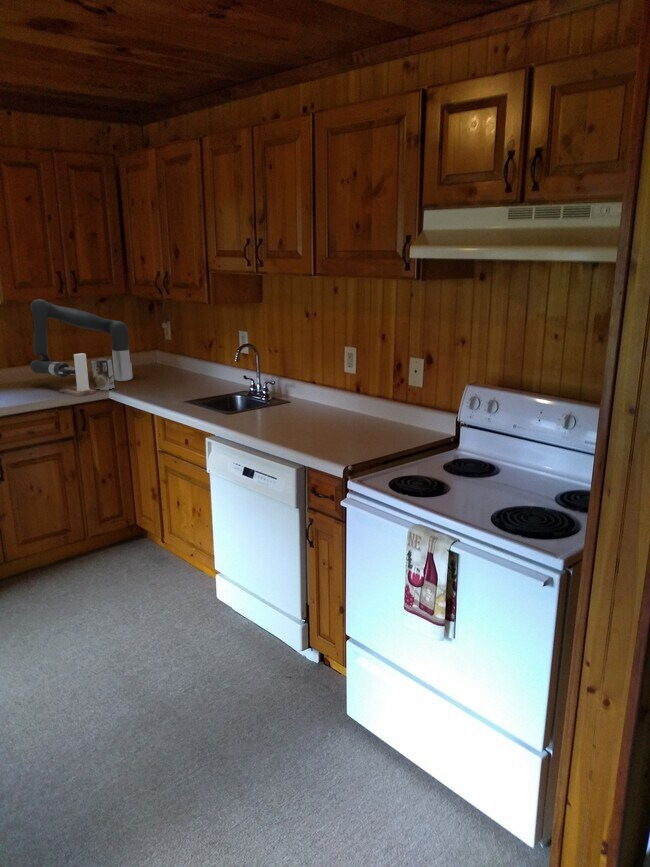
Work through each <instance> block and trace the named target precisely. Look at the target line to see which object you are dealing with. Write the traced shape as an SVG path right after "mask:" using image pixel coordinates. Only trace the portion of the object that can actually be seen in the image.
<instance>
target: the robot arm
mask: <svg viewBox="0 0 650 867" xmlns="http://www.w3.org/2000/svg"><path fill="white" fill-rule="evenodd" d="M30 310H31V314H32V317H33V318H32V319H33V326H34V328H33V353H34V355H35V356H40V358H41V359H35V360H32V361H31V363H30V366H29V367H30V369H31V371H32V372H33V373H35V374H46V375H53V376H55V377H61V378H67V377H68V376H71V375H76V372H75V367H72V366H70V365H69V364H68V363H66V362H61V361H53V360H51V359H50V354H49V349H48V348H49V345H48V343H49V342H48V341H49V340H48V330H47V327H48V326H47V325H48V318H49V319H50V318H51V319H54V320H55V319H56V320H58V321H60V322H62V323H65V324H68V325H71V326H74V327H76V328H81V329H86V330H93V331H99V332H103V333H106V334H108V335H111V351H112V352H111V353H112V364H113V375H114V381H117V382H125V381H130V380H133V378H134V376H133V366H132V362H131V358H130V339H129V337H130V336H129V328H128V326H127V325H126V323H124V322H123V321H122V320H121V321H120V320H115V319H109V318H108V319H107V318H103V317H101V316H98V315H96V314H93V313H90V312H88V311H84V310H80V309H78V308H77V309H76V308H72V307H66V306H61V305H58V304H57V305H56V304H54V303H52V302H48V301H46V300H45V299H41V298H37V299H34V300H32V302H31V303H30Z"/></svg>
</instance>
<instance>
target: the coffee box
mask: <svg viewBox="0 0 650 867" xmlns="http://www.w3.org/2000/svg"><path fill="white" fill-rule="evenodd" d="M91 369H92V376H93V377H92V378H93V387H94V388H93V390H94V389H100V390H99V391H110V390H109V389H112V388H114V389H115V388H116V387H115V377H114V366H113V358H95V359H92V360H91ZM112 390H113V389H112Z"/></svg>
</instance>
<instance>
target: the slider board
mask: <svg viewBox="0 0 650 867" xmlns="http://www.w3.org/2000/svg"><path fill="white" fill-rule="evenodd" d="M58 392H59V393H60V392H64V393H63V394H65V393H70V394H73V395H72V396H76V397H83V396H88V395H92V394H96V393H97V390H94V389H92V388H90V390H88V391H83V392H81V391H77V385H76V386H71V387H67V388H61V389H59V390H58ZM70 394H69V395H70Z"/></svg>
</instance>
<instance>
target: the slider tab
mask: <svg viewBox="0 0 650 867" xmlns="http://www.w3.org/2000/svg"><path fill="white" fill-rule="evenodd" d="M73 360H74V368H75V372H76V374H75V379H76V381H75V382H76V387H77V391H81V392H83V391H88V390H90V389H91V388H90V385H89V384H90V383H89V375H88V366H87V365H88V363H87V354H86V353H83V352H81V353H74V354H73Z"/></svg>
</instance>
